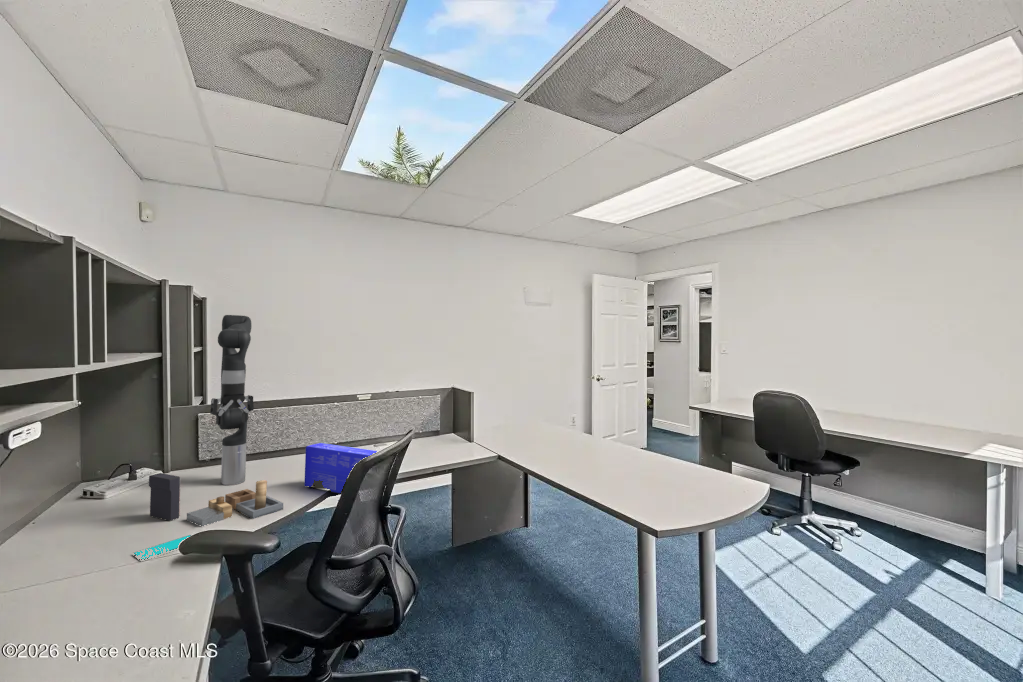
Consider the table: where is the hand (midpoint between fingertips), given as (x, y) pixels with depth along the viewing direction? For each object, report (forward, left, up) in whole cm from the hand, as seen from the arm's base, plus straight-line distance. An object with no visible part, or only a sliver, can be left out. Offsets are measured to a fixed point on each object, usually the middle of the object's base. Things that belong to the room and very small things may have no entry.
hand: (232, 423), depth 165 cm
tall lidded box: (-8, -18, -32) cm, 38 cm away
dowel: (+12, +6, -32) cm, 34 cm away
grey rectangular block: (+6, -10, -32) cm, 35 cm away
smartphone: (+20, -26, -33) cm, 46 cm away
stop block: (+4, -5, -32) cm, 33 cm away
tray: (+12, +6, -32) cm, 35 cm away
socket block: (0, +4, -32) cm, 32 cm away
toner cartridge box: (+18, +38, -32) cm, 53 cm away
